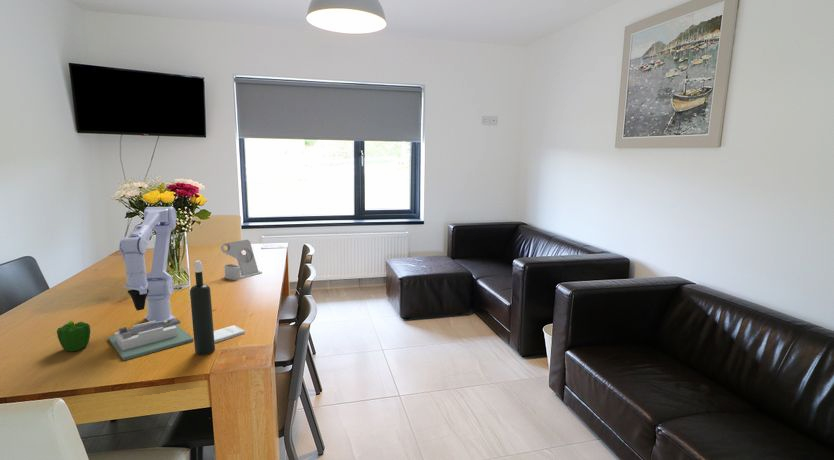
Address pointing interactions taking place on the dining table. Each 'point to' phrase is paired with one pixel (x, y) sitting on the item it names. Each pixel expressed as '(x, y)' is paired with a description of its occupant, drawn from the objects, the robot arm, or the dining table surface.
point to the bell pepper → (74, 335)
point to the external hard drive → (227, 333)
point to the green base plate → (148, 340)
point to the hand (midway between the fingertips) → (140, 309)
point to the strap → (152, 326)
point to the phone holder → (240, 260)
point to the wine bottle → (202, 314)
